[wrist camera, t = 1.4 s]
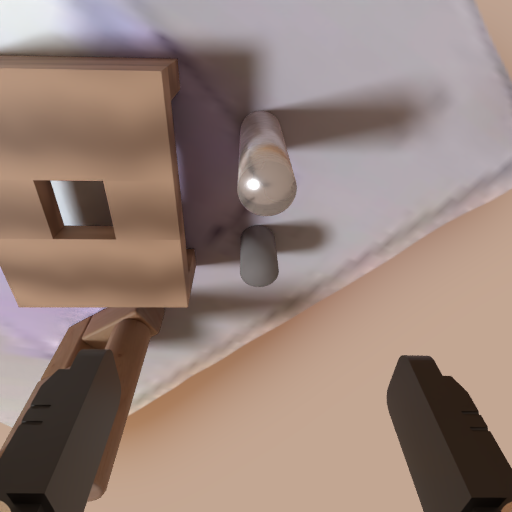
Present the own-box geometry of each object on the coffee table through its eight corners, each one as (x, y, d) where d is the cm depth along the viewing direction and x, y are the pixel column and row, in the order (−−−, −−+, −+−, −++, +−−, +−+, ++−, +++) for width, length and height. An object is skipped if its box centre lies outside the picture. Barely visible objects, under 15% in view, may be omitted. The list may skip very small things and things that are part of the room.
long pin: (240, 110, 28) (237, 160, 19) (282, 110, 28) (299, 161, 19) (240, 151, 30) (237, 215, 21) (279, 152, 30) (294, 216, 21)
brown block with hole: (-26, 54, 26) (-91, 66, 21) (177, 58, 26) (161, 71, 21) (50, 265, 36) (19, 307, 31) (195, 265, 36) (187, 307, 31)
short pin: (240, 225, 34) (239, 255, 29) (275, 225, 34) (279, 256, 30) (240, 254, 35) (240, 286, 31) (273, 254, 36) (277, 287, 31)
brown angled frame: (68, 326, 40) (-37, 513, 25) (144, 286, 37) (76, 471, 23) (92, 345, 42) (8, 531, 27) (167, 309, 39) (118, 494, 24)
